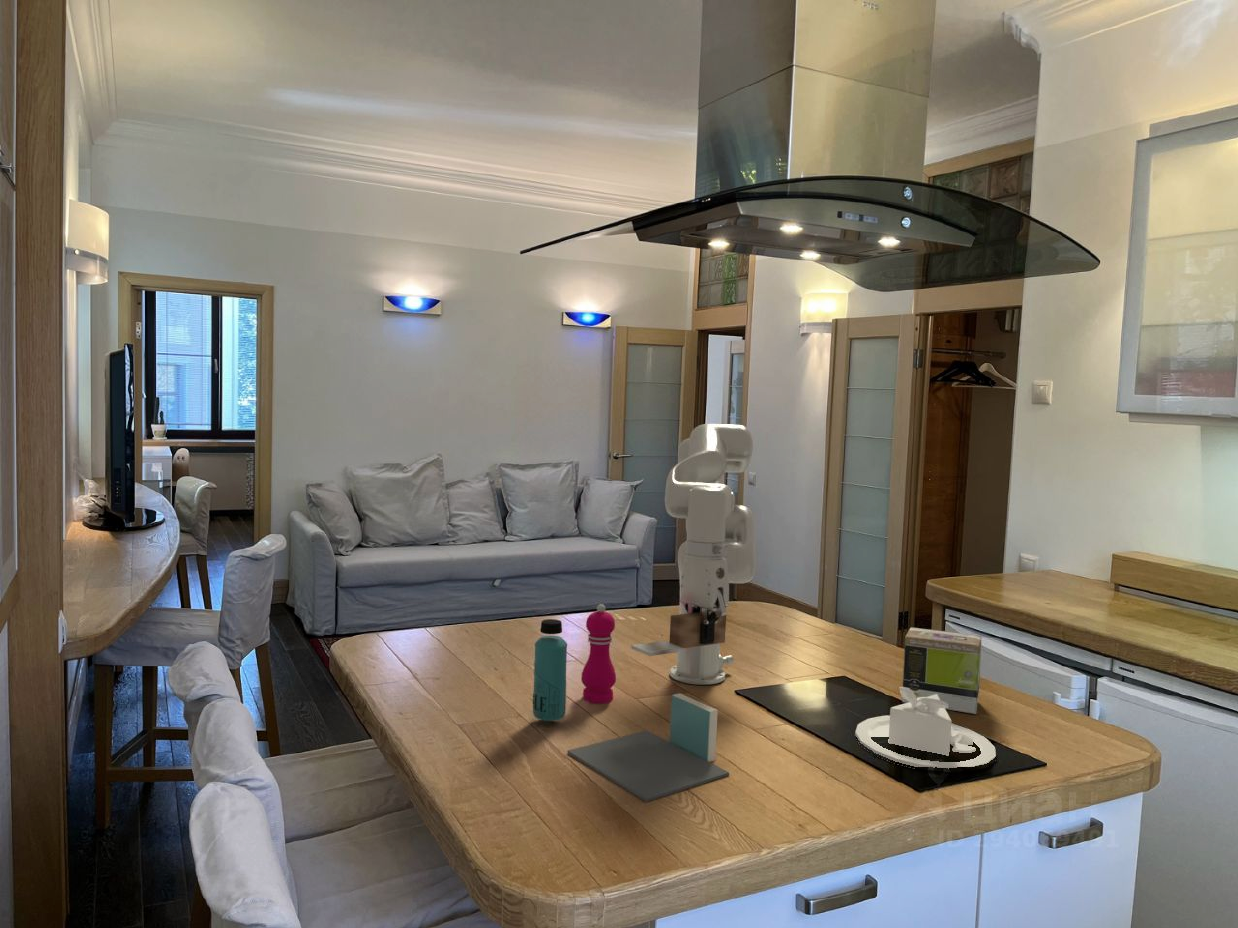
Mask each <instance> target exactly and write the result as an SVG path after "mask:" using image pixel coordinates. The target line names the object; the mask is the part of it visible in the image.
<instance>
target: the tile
mask: <svg viewBox="0 0 1238 928" xmlns="http://www.w3.org/2000/svg"><path fill="white" fill-rule="evenodd" d="M669 724H670V725H669V726H670V728H669V729H670V730H669V742H671V743H673V744H675V745H677V746H679V747H681V748H683V749H685V750H687V751H689V752H691V753H692V754H694V755H696V756H698V757H700V758H702V759H704V760H706V761H708V762H710V763H711V762H713V761H715V760H716V757H717V755H716V754H717V753H716V751H717V736H718V735H717V731H718V709H716V708H714V707H711V706H710V705H707V704H705V703H703V702H701V701H698V700H695V699H693V698H691V697H689V696H686V695H685V694H682V693H680V692H679V693H676V694H671V703H670V723H669Z"/></svg>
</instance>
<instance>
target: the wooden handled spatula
mask: <svg viewBox="0 0 1238 928" xmlns="http://www.w3.org/2000/svg"><path fill="white" fill-rule="evenodd" d="M710 614H711V611H709V615H710ZM701 624H703V612H696V613H688V614H679V613H678V614H673V615H672V614H671V615H670V624H669V625H670V627H669V641H666V640H661V641H651V642H645V643H638V644H636V643H635V644H631V649H632V650H634V651H637V652H640V653H642V654H644V655H647V656H649V657H654V656H659V655H661V656H662V655H667V654H668V655H669V654H674V653H678V652H682V651H683V649H684V648H690V647H697V646H704V645H711V644H718V643H720V644H724V643H726V630H727V629H726V628H727V627H726V625H727V614H726V615H724V616H722V617H720V618H719V619H718V620H717V623H715V630H714V642H713V643H708V644H701V643H700V629H701Z"/></svg>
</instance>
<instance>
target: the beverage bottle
mask: <svg viewBox="0 0 1238 928" xmlns="http://www.w3.org/2000/svg"><path fill="white" fill-rule="evenodd" d="M562 623H563V622H562V621H561V620H559V619H555V618H554V619H553V618H549V619H548V618H547V619H543V620H541V623H540V624H541V625H540V633H542V634H546V635H543V636H540V637H539V638H538V639H537V640H536V641H535V642H534V663H533V693H532V713H533V717H534V718H535V719H537V720H539V721H546V722H548V721H549V722H551V721H553V722H554V721H559V720H562V719H564V717H565V716H566V711H567V708H566V707H567V681H568V680H567V653H568V652H567V651H568V649H567V648H568V643H567V641H566V640H565V639H564V638H563V637H562V636H558V634H562V632H563V627H562V626H563V625H562Z"/></svg>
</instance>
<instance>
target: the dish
mask: <svg viewBox="0 0 1238 928" xmlns="http://www.w3.org/2000/svg"><path fill="white" fill-rule="evenodd" d="M899 692H900V695H901V698H902V697H903V698H904V699H906V700H907V701H909V702H908V703H905V702H904V703H902V704H898V705H895V706H892V707H890V710H889V715H881V716H875V717H871V718H870V717H869V718H866V719H865V720H863V721H861V722H859V723H857V725H856V729H855V733H854V737H855V736H856V737H857V738H858V740H859V741H860V743H861V744H863V745H864V746H865V747H867V748H868V749H870V750H872V751H873V752H874V753H876V754H879V755H881V756H883V757H886V758H888V759H890V760H893V761H895V762H899V763H902V764H906V765H910V766H914V767H933V768H935V767H937V768H948V769H949V768H957V767H975V766H979V765H984V764H987V763H989V762H990V761H991V760H993V759H994V758H995V757H996V756H997V753H996V747H995V746H994V745H993V744H992V743H991V741H990V740H989V739H987V738H986V737H985V736H983V735H982V734H980V733H977V732H976V731H973V730H972V729H969V728H967V727H963V726H960V725H958V724H954V723H953V722H952V719H951V717H950V715H949V714H948V712H947V709H945V708H948V704H947V703H946V702H944V701H941V700H940V699H939V697H938V695H937V694H935V695H932V696H928V697H919V698H917V700H916V696H915V694H914V692H913V691H911V690H910V689H909V688H905V687H903V686H899ZM871 737H889V739H888V743H889V744H895V745H899V746H904V747H908V748H912V749H916V750H921V751H927V752H932V753H937V754H942V755H946V756H949V752H950V744H951V745H952V746H953V748H952V751H953V752H959V753H972V752H975V751H976V748H975V747H972V746H968V745H973V742H974V743H975V744H976V745H977V746H978V747H979V748H980V751H981V754H980V755H979V756H977V757H976V758H974V759H970V760H966V761H960V762H939V761H930V760H921V759H917V758H913V757H909V756H905V755H901V754H898V753H896V752H893V751H891V750H888V749H886V748H883V747H882V746H880V745H879V744H877V743H876V742H874V741H873V740H872V739H871ZM996 758H997V757H996Z"/></svg>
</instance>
